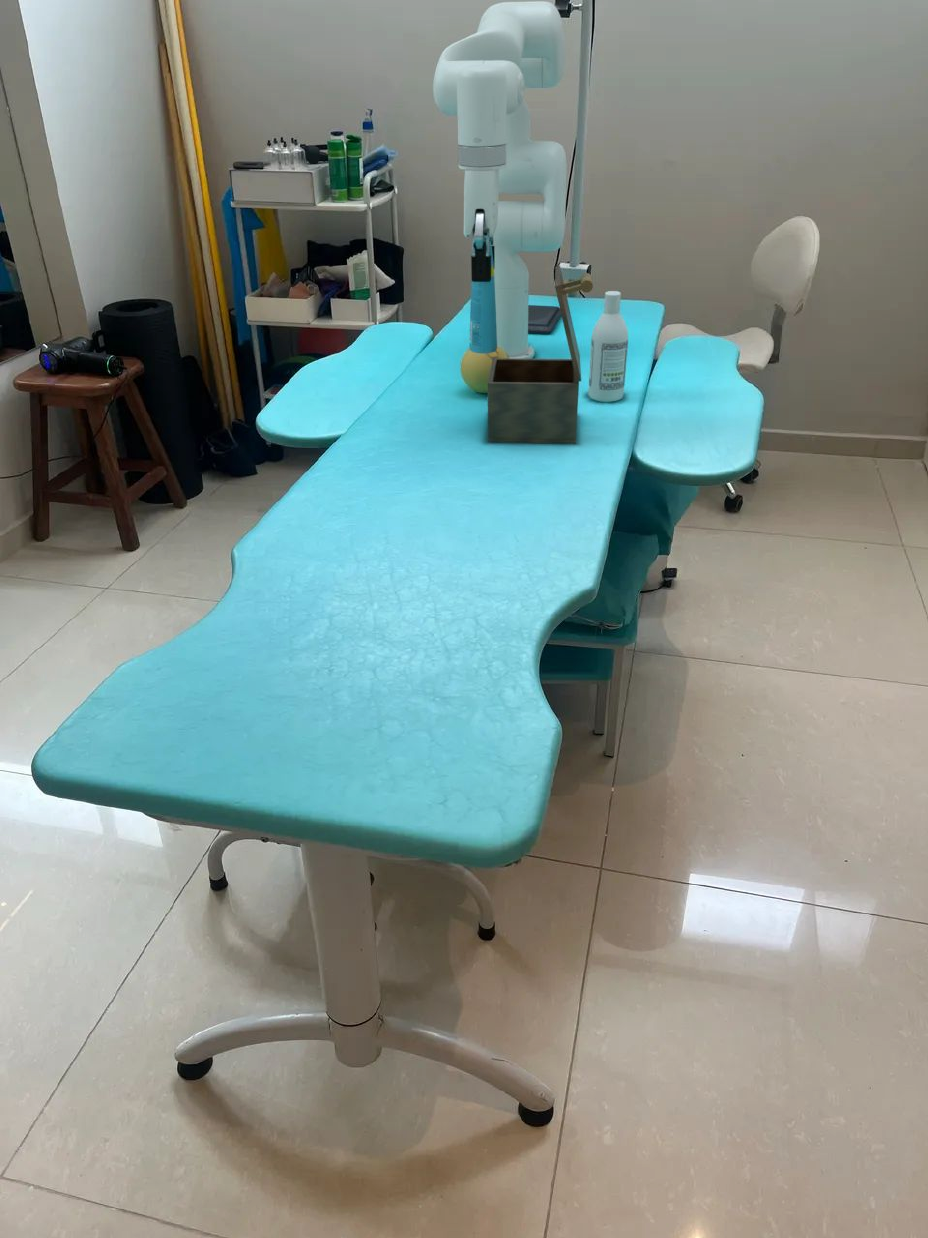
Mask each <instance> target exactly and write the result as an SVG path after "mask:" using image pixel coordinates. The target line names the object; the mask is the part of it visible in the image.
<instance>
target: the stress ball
mask: <svg viewBox="0 0 928 1238" xmlns="http://www.w3.org/2000/svg"><path fill="white" fill-rule="evenodd" d="M493 358H509V357H508V355H507V353H505V352H504V350H503V349H502V348H500V347H499V346H498V345H497V350H496V351H495V352H492V353H487V354H484V353H474V352H471V351H470V349H469V348H468V349H467V350H466V351H465V352H464V354H463V356H462V358H461V361H460V375H461V378H462V380H463V382H464V383H465V385H466V386H467V387H468V388H469V389H471V390H472V391H474V392H476V393H478V394H488V379H489V374H490V369H491V364H492V359H493Z"/></svg>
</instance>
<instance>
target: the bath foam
mask: <svg viewBox="0 0 928 1238" xmlns="http://www.w3.org/2000/svg"><path fill="white" fill-rule="evenodd" d="M621 297H622V293H621V291H618V290H608V291H605V293H604V303H603V304H604V305H603V313H602V314H601V316H599V319H598V320H597V321H596V323H595V324H594V327H593V329H592V333H591V340H590V356H589V375H588V390H587V391H588V392H587V393H588V397H589V398H590V399H592V400H593V401H596V402H601V403H610V402H611V403H612V402H617V401H620V400H621V399H622V398H624V393H625V385H626V384H625V383H626V373H627V372H626V371H627V360H628V358H627V357H628V347H629V332H628V331H629V329H628V327H627V326H628V325H627V324H626V322H625V320H624V318H623V316H622V314H621V313H620V312H621V311H620V309H621Z"/></svg>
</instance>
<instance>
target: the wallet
mask: <svg viewBox="0 0 928 1238" xmlns="http://www.w3.org/2000/svg"><path fill="white" fill-rule="evenodd" d="M560 318H562V315H561V311H560V306H554V305H538V304H537V305H536V304H528V334H533V335H550V334H551V333H552V332H553V331H554V329H555V327H556V325H557V323H558V322H559V320H560Z"/></svg>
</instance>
